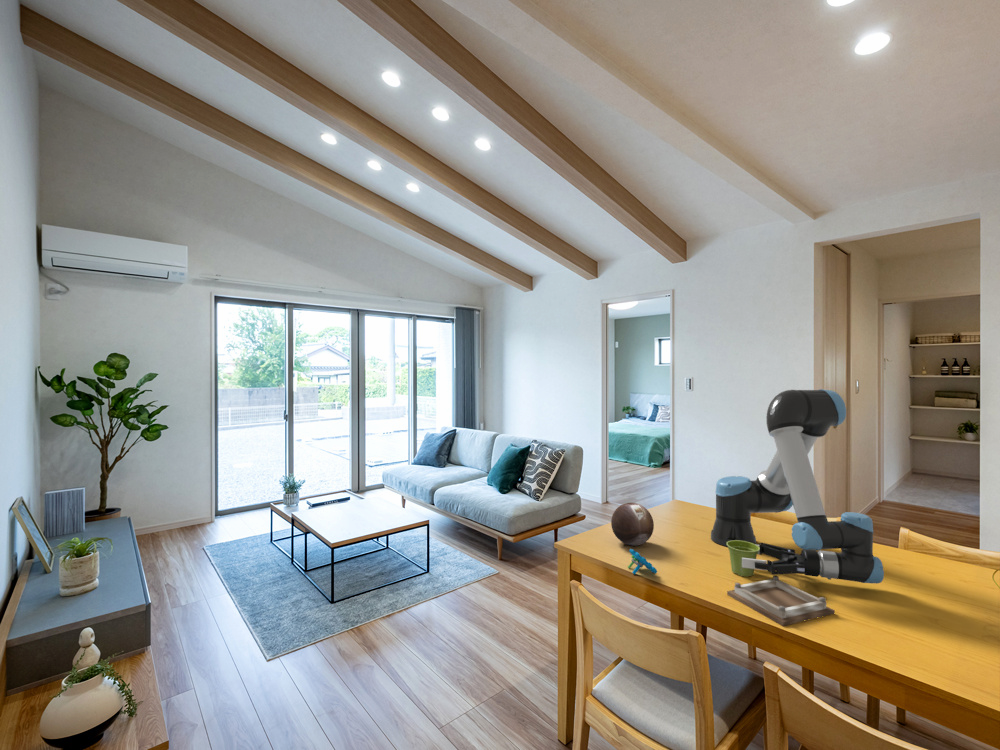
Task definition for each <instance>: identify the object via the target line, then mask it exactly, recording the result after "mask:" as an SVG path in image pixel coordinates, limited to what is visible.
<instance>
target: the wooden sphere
mask: <svg viewBox="0 0 1000 750" xmlns="http://www.w3.org/2000/svg"><path fill="white" fill-rule="evenodd" d="M610 523H611V526H610V527H611V529H612V532H613V534H614V535H615V537H616V538H617V539H618V540H619V541H620V542H622V544H625V545H628V546H633V547H635V546H640V545H644V544H645V543H647V541H649V540H650V538H651V537H652V535H653V532H654V529H655V527H654V526H655V525H654V519H653V516H652V514H651V513H650V511H649V510H648V509H647V508H646V507H645V506H643V505H641V504H639V503H636V502H626V503H623V504H621V505H619V506H617V508H616V509H615V510H614V511H613V513H612V515H611V521H610Z"/></svg>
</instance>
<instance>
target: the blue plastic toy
mask: <svg viewBox="0 0 1000 750" xmlns="http://www.w3.org/2000/svg"><path fill="white" fill-rule="evenodd" d="M628 552H629V553H630V555H631V556H630V557H631V563H630V564H629V565H628V566H627V569H629V568H630V569H631V567H633V565H634V564H635V565H636V566H635V568H634V570H633V571H632V572H631V573H632V574H633V575H636V574H637V572H638V571H640V568H643V567H645V568H646V569H647V570H649V571H651V572H652V573H653V574H655V575H656V574H657V573H658V570H657V568H656V567H654V566H653V564H652V563H651V562H649V561H648V560H647V559H646V558H645V557H644V556H642V555H641V554H640V553H639V552H638V551H636V550H634V549H632V548H630V549H629V550H628Z"/></svg>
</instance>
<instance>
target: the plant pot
mask: <svg viewBox="0 0 1000 750" xmlns="http://www.w3.org/2000/svg"><path fill="white" fill-rule="evenodd" d="M757 545H758V544H756V545H755V544H753V543H750V542H746V541H740V540H733V541H728V542H727V546H726V547H727V549H728V551H729V552H728V553H729V558H730V566H731V567H730V568H731V572H732V573H733V574H736V575H737V576H739V577H745V578H746V577H750V576H754V574H755V569H751V568H743V567H742V558H750V559H757V556H758V555H759V554H758V551H759V550H760V548H759V546H757Z"/></svg>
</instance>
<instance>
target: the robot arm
mask: <svg viewBox="0 0 1000 750" xmlns="http://www.w3.org/2000/svg"><path fill="white" fill-rule="evenodd" d="M766 411H767V412H766V417H765V418H766V426H767V431H768V435H769V436H770V437H773V439H774V442H775V447H776V452H775V454H774V455H773V457H772V459H771V461H770V463H769V465H768V467H767V469H766V470H762V471H761V472H759V474H758V476H757V478H756V479H755V480H751V479H750V478H749V477H745V476H739V475H738V476H736V475H733V476H726V477H725V476H724V477H721V478H719V479H718V481H716V486H715V520H714V523H713V527H712V529H711V530H710V539H711V541H712V542H714V543H715V544H718V545H721V546H724V547H728V546H727V542H728V541H733V540H740V541H746V542H750V543H753V544H755V545H757V546H759V548H760V550H759V551H758V554H757V555H759V556H762V555H766V556H769V557H772V558H774V559H777V560H774V561H773V560H770V559H767V560H764V559H757V558H756V559H750V558H742V567H743V568H751V569H754V570H761V571H767V572H768V573H770V574H771V575H772V576H777V575H790V574H791V575H793V574H794V575H795V574H799V575H804V576H809V577H820V578H825V579H827V580H830V581H831V580H832V579H834V580H843V581H851V582H856V583H861V584H881V583H882V581H883V580H884V576H885V575H884V574H885V571H884V565H883V562H882V560H881V559H880V558H879V557H878V556H875V555H874V552H873V551H874V550H873V548H874V547H873V546H874V542H873V541H874V533H875V532H874V523H873V519H872V518H871V517H870V516H869V515H867V514H864V513H860V512H853V511H852V512H851V511H849V512H848V511H845V512H843V513H842V514H841V517H840V521H839V520H837V521H835V520H833V521H829V519H828V517H827V515H826V512H825V508H824V505H823V501H822V498H821V495H820V492H819V489H818V484H817V482H816V478H815V475H814V473H813V469H812V466H811V462H810V460H809V453H810V451H811V449H812V447H813V446H814V445H815V443H816V440H817V439H818V438H823V437H825V436H826V434H827V432H828V431H829V430H830V428H831V427H837V426H839V425H842V424H843V423H844V422H845V421H846V417H847V407H846V403H845V401H844V399H843V397H842V396H841V395H840V394H839V393H837V392H836V391H834V390H829V389H822V388H820V389H788V390H787V389H786V390H784V391H781V392H780V393H778V394H777V395H775V396H774V397H773V398H772V400H771V401H770V403H769V405H768V407H767V410H766ZM792 507H793V509H794V512H795V513H794V514H795V516H796V519H797V522H796V523H794V524H793V525H792V527H791V537H792V538H791V539H792V540H793V543H794V544H795V545H796V546H797V547H799V548H800V549H801V552H800V553H796V550H795V549H793V548H786V547H782V546H777V545H774V544H769V543H765V542H760V543H759V544H757V537H756V535H755V533H754V528H753V525H752V523H751V514H757V513H758V514H759V513H763V514H764V513H765V514H766V513H770V514H771V513H776V514H777V513H782V512H786V511H788V510H790V509H791V508H792ZM832 549H834V550H835V549H837V550H838V549H840V551H841V552H838V551H837V552H835V551H829V550H832Z"/></svg>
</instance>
